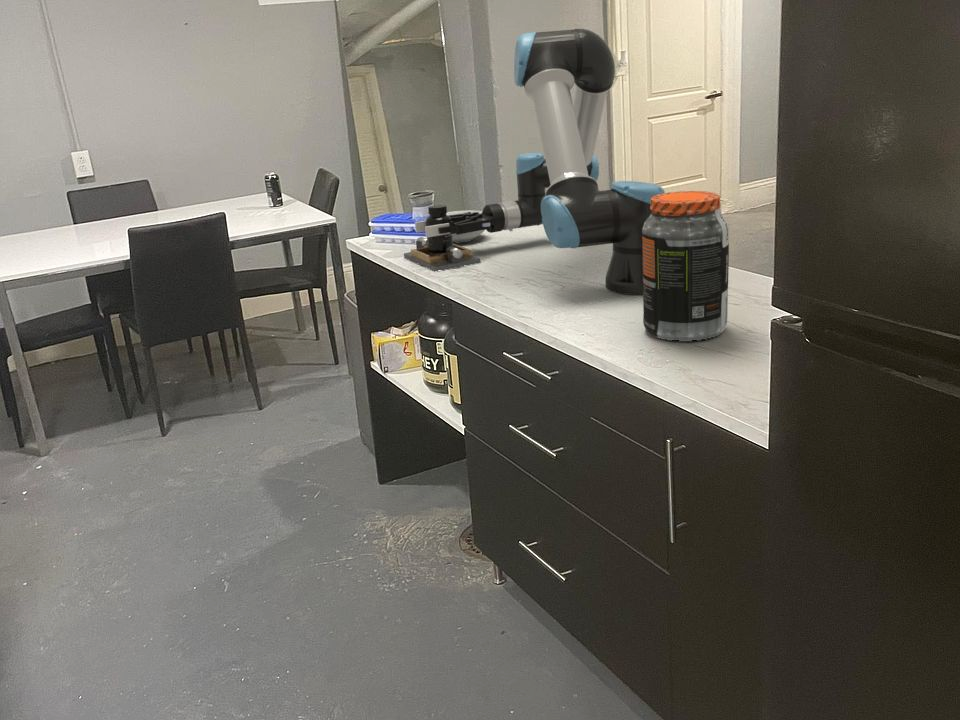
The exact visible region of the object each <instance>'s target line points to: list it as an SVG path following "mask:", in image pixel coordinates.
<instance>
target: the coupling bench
mask: <svg viewBox="0 0 960 720" xmlns="http://www.w3.org/2000/svg"><path fill="white" fill-rule="evenodd" d="M415 247H416V248H414V249H411V250H410V251H409V252H404V253H403V257H404V259H405V260H406V259H407V260H408V259H409V260H408V261H410V262H413V263H415V264H417V263H418V265H420V266H422V267H424V268H426V267H427V269H428V268H430V269H429V270H431V269H432V270H431V271H433V270H434V271H433V272H435V271H437V272H439V271H438V270H442V271H444V270H443V269H447V270H449V269H448V268H452V269H456V268H455V267H457V268H460V267H459V266H462V267H465V266H464V265H467V266H471V265H470V264H472V265H476V264H475V263H477V264H480V263H482V260H481V258H480V257H478V256H475V255H473V254H472V249H470V248H467V247H464V246H461V245H459V244H458V243H453V247H452V246H449V247H448V248H447V250H446V253H442V254H433V253H430V252H429V251H428V246H427V237H424V236H420V237H418V238H417V240H416V241H415Z"/></svg>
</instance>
